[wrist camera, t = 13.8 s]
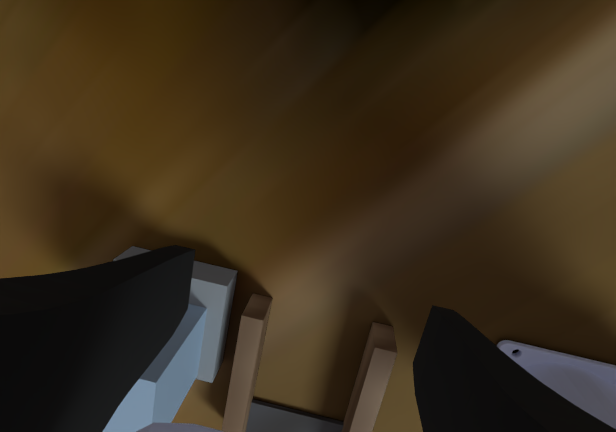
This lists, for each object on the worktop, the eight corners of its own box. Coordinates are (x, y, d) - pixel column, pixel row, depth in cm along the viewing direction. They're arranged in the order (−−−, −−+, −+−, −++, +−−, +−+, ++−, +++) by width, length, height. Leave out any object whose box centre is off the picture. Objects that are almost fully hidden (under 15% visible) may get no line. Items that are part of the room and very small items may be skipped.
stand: (237, 271, 24) (227, 286, 22) (222, 361, 25) (212, 382, 24) (132, 246, 24) (113, 259, 22) (125, 337, 26) (107, 357, 24)
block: (207, 308, 22) (156, 382, 16) (197, 374, 24) (147, 465, 18) (128, 289, 22) (51, 356, 17) (123, 356, 24) (50, 440, 18)
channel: (393, 326, 23) (397, 352, 21) (352, 455, 27) (352, 491, 24) (252, 293, 24) (241, 315, 21) (229, 424, 27) (217, 456, 24)
